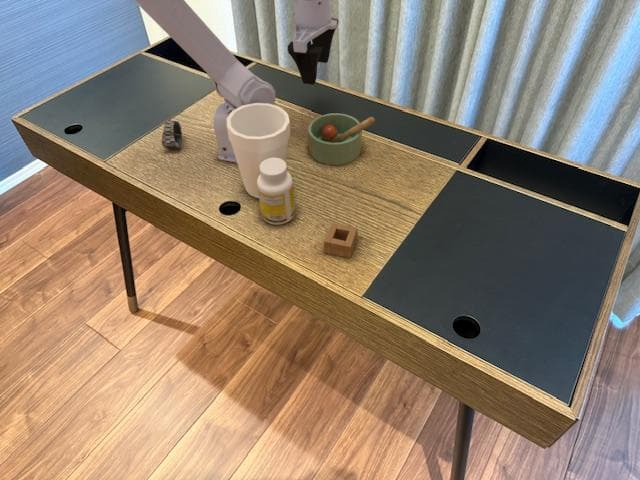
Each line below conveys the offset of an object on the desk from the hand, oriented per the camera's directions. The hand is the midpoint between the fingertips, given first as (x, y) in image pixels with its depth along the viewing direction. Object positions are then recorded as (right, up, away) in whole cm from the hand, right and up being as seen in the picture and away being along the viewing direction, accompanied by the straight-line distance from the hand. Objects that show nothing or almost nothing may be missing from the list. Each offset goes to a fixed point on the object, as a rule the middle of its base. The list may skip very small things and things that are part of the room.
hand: (315, 72), depth 87 cm
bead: (+2, -11, +2) cm, 11 cm away
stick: (+3, -13, +1) cm, 13 cm away
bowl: (+4, -14, +2) cm, 14 cm away
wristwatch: (-26, -13, +4) cm, 29 cm away
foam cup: (-9, -21, -5) cm, 23 cm away
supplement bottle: (-6, -26, -9) cm, 28 cm away
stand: (+4, -31, -15) cm, 35 cm away
